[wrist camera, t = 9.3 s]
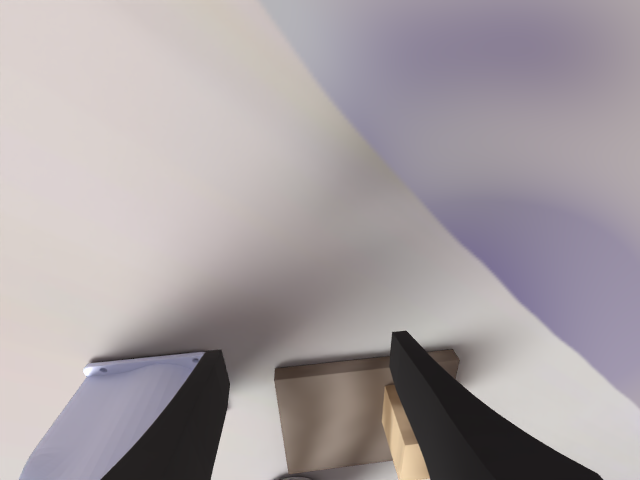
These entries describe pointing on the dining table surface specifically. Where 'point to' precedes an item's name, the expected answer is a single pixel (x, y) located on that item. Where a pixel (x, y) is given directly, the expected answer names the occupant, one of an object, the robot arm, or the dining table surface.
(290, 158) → the dining table surface
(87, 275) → the dining table surface
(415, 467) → the oak block
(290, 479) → the can
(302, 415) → the serving board
